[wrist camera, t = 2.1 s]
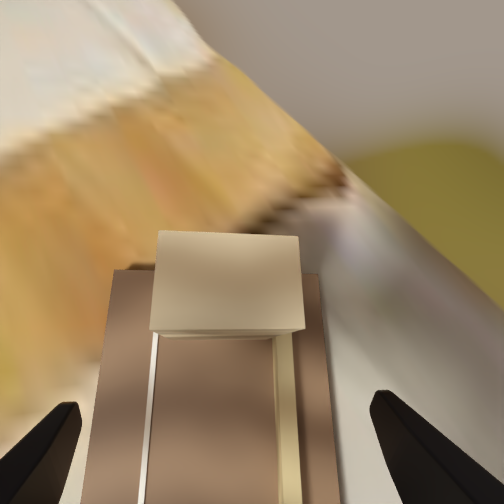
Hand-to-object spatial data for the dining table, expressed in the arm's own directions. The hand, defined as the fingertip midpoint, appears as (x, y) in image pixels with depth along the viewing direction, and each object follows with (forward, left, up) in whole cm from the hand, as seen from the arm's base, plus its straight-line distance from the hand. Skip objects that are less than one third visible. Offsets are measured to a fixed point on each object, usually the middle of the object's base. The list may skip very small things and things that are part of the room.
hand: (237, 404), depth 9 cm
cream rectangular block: (+4, 0, -10) cm, 11 cm away
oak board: (-2, 0, -11) cm, 11 cm away
